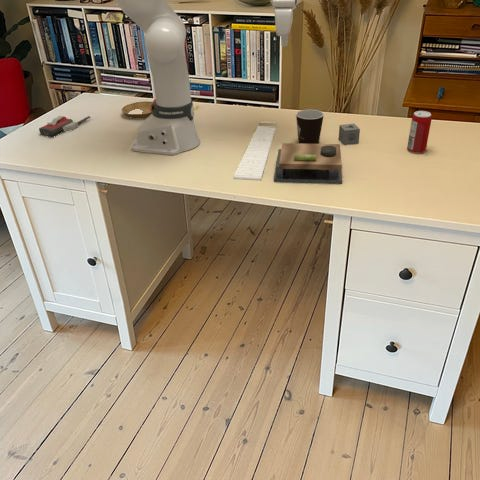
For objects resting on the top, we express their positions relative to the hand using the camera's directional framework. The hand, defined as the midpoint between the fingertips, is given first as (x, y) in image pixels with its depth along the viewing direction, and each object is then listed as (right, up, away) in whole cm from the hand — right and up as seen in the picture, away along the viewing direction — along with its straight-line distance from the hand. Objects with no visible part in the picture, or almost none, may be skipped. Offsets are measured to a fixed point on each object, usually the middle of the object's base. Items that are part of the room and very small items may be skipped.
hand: (284, 45), depth 151 cm
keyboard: (-7, -30, +8) cm, 32 cm away
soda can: (+41, -32, +2) cm, 52 cm away
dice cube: (+22, -28, +10) cm, 36 cm away
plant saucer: (-51, -11, +39) cm, 65 cm away
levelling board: (+6, -36, -9) cm, 38 cm away
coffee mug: (+9, -28, +10) cm, 31 cm away
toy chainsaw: (-77, -19, +29) cm, 85 cm away
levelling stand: (+6, -39, -7) cm, 40 cm away
